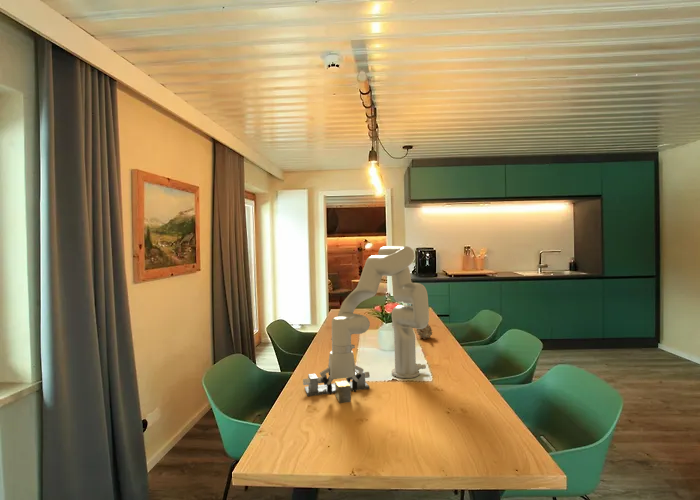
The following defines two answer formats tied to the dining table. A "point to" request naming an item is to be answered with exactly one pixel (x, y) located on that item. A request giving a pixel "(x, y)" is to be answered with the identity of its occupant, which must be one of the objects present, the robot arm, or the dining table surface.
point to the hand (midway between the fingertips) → (342, 392)
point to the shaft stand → (322, 389)
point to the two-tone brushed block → (343, 391)
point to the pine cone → (425, 332)
